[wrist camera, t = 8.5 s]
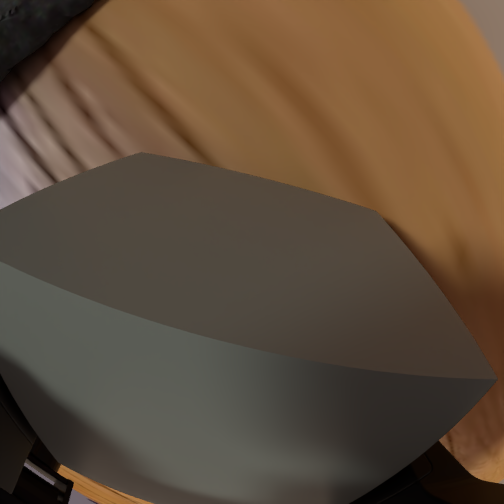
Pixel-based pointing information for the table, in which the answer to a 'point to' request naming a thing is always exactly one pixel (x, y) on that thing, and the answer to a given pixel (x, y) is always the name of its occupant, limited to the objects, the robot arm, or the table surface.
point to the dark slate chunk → (31, 26)
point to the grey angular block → (225, 336)
